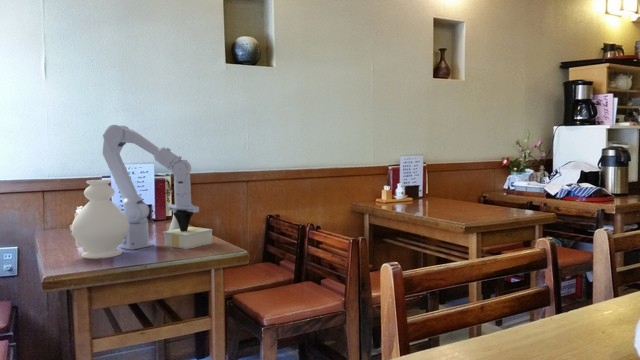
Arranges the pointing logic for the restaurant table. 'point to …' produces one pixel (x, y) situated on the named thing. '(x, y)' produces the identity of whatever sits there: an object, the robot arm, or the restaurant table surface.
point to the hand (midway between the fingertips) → (183, 231)
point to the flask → (174, 223)
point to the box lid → (187, 233)
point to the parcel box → (188, 240)
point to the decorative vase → (100, 222)
